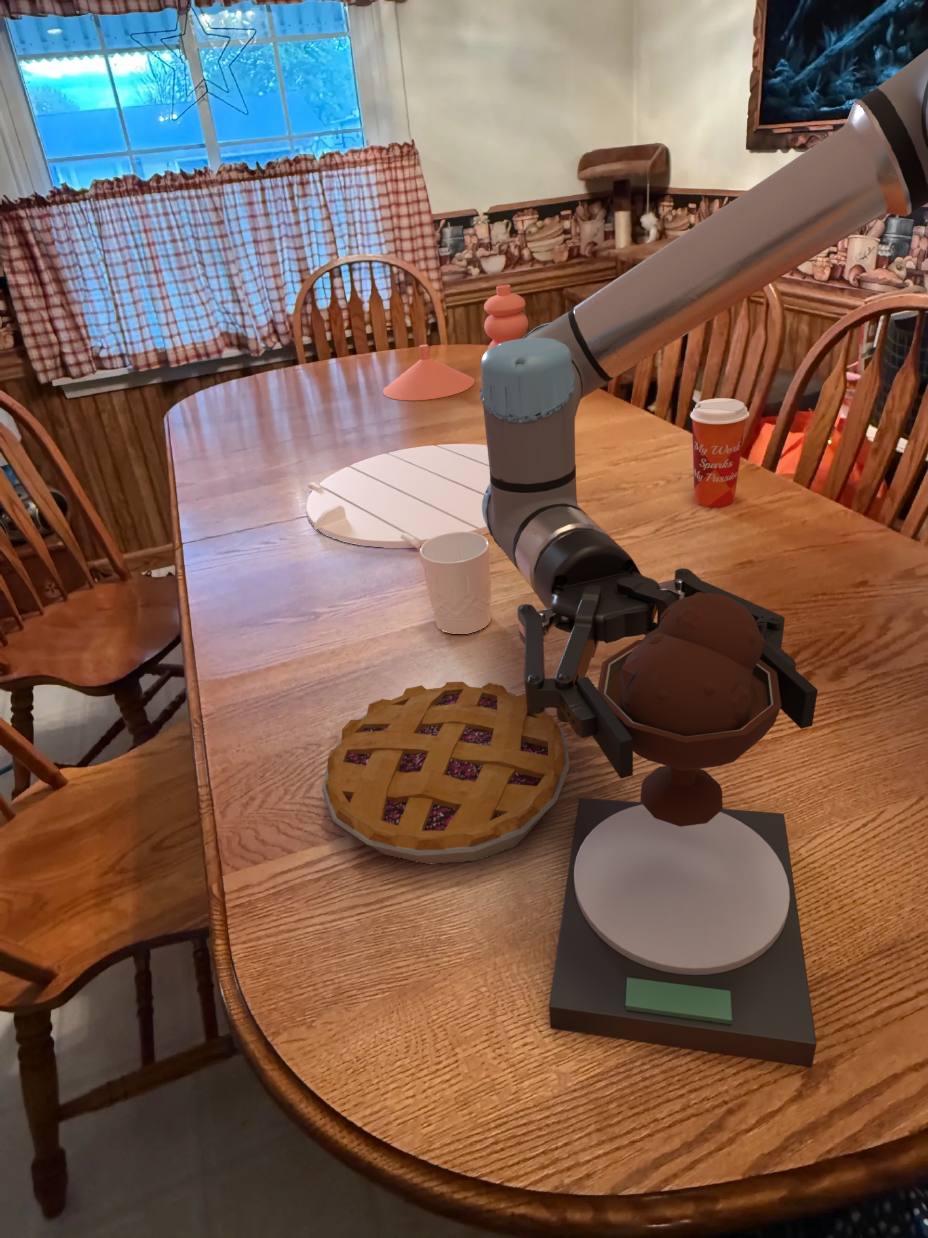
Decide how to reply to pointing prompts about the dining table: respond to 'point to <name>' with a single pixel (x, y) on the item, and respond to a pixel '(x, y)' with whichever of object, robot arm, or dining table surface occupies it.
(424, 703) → the pie
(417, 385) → the ceramic vessels
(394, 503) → the lazy susan
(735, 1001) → the scale
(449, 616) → the white cup
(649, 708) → the ice cream bowl
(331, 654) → the dining table surface
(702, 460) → the paper cup
